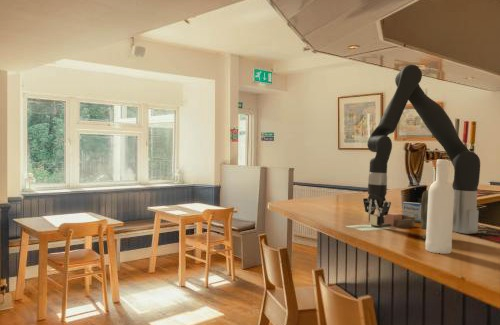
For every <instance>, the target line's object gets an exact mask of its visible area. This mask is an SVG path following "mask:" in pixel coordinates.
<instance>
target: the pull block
mask: <svg viewBox="0 0 500 325" xmlns="http://www.w3.org/2000/svg"><path fill="white" fill-rule="evenodd" d="M383 217H384V223H383V224H382V225H377V219H378V214H376V213H374V214H371V215H370V223H369V224H371V226H372V227H383V226H393V227H394V226H395V222H396V220H402V213H397V212H388V214H387V215H385V216H383Z"/></svg>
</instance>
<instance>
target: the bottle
mask: <svg viewBox="0 0 500 325" xmlns="http://www.w3.org/2000/svg"><path fill="white" fill-rule="evenodd" d="M449 160H450V159H443V158H442V159H440V158H439V159H436V163H435V165H436V169H435V170H436V171H435V180H434V181H433V182H432V183H431V184H430V186H429V188H428V209H427V229H426V230H425V231H426V232H425V236H426V240H425V242H424V243H425V250H426V251H427V252H430V253H433V254H439V253H440V255H441V254H442V255H447V254H448V255H449V254H451V253H452V247H453V231H452V227H453V208H454V190H453V187H452V186H453V184H451V183H450V182H449V166H450V162H449Z"/></svg>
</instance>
